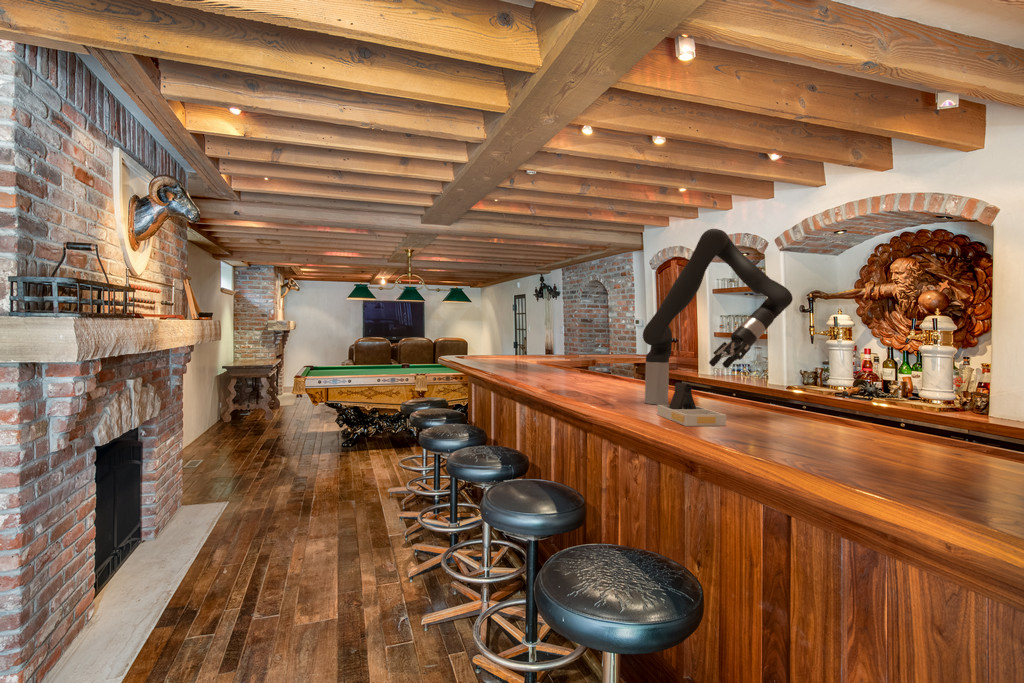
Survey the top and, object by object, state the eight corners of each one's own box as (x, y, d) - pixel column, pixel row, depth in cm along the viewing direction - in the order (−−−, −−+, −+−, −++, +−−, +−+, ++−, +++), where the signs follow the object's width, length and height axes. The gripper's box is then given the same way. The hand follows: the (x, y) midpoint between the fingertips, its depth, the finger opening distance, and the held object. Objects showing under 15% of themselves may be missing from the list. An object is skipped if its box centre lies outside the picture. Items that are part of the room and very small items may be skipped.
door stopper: (689, 415, 173) (690, 382, 173) (698, 418, 167) (699, 384, 167) (666, 416, 172) (666, 382, 171) (674, 419, 166) (675, 384, 165)
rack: (656, 414, 174) (656, 404, 174) (692, 414, 176) (692, 404, 176) (685, 426, 153) (685, 415, 153) (726, 426, 155) (726, 415, 155)
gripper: (729, 325, 179) (700, 357, 177) (753, 325, 165) (722, 358, 163) (742, 340, 180) (713, 371, 178) (768, 340, 165) (736, 374, 164)
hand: (717, 365), depth 171 cm, fingers open, 8 cm apart
